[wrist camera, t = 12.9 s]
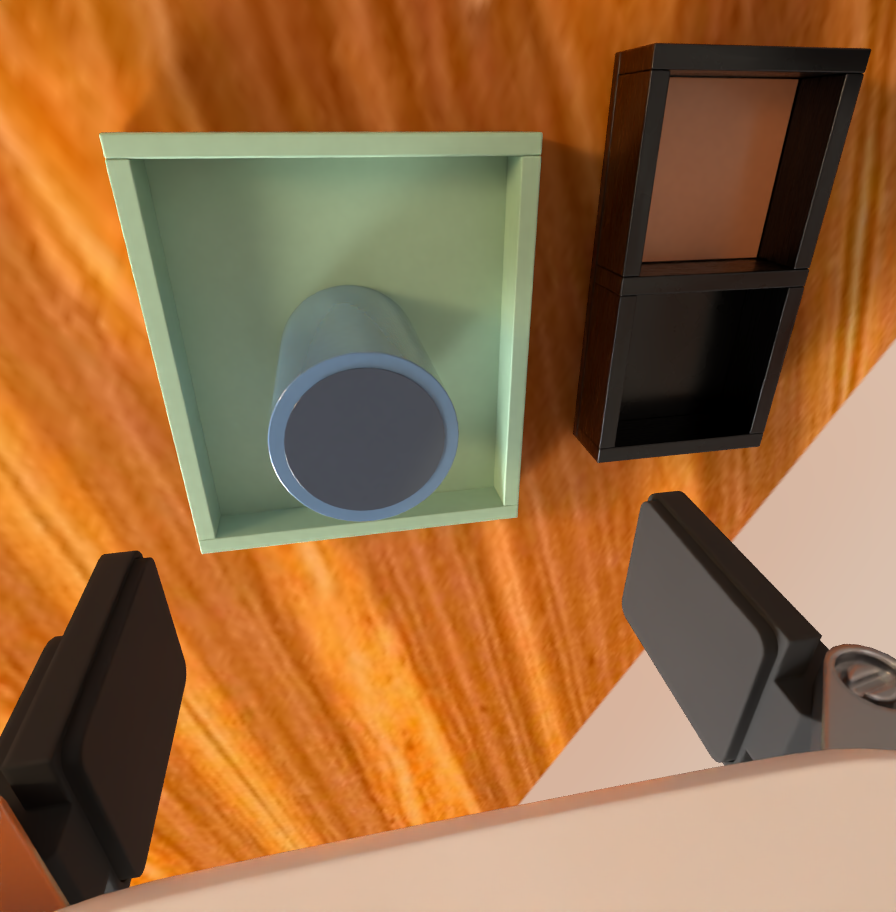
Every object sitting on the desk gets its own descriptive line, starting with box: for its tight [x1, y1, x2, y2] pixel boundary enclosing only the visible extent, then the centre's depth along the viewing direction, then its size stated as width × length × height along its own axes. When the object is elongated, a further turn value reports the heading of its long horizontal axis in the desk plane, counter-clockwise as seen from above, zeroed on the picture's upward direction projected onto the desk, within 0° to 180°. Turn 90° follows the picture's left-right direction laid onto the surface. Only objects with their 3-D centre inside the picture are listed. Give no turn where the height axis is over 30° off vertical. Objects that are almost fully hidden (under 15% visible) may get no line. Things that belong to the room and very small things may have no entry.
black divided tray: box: [573, 43, 871, 463], centre depth 28 cm, size 17×9×3 cm, turn 0°
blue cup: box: [268, 285, 459, 522], centre depth 23 cm, size 6×6×9 cm
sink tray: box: [99, 132, 543, 554], centre depth 27 cm, size 18×16×3 cm
